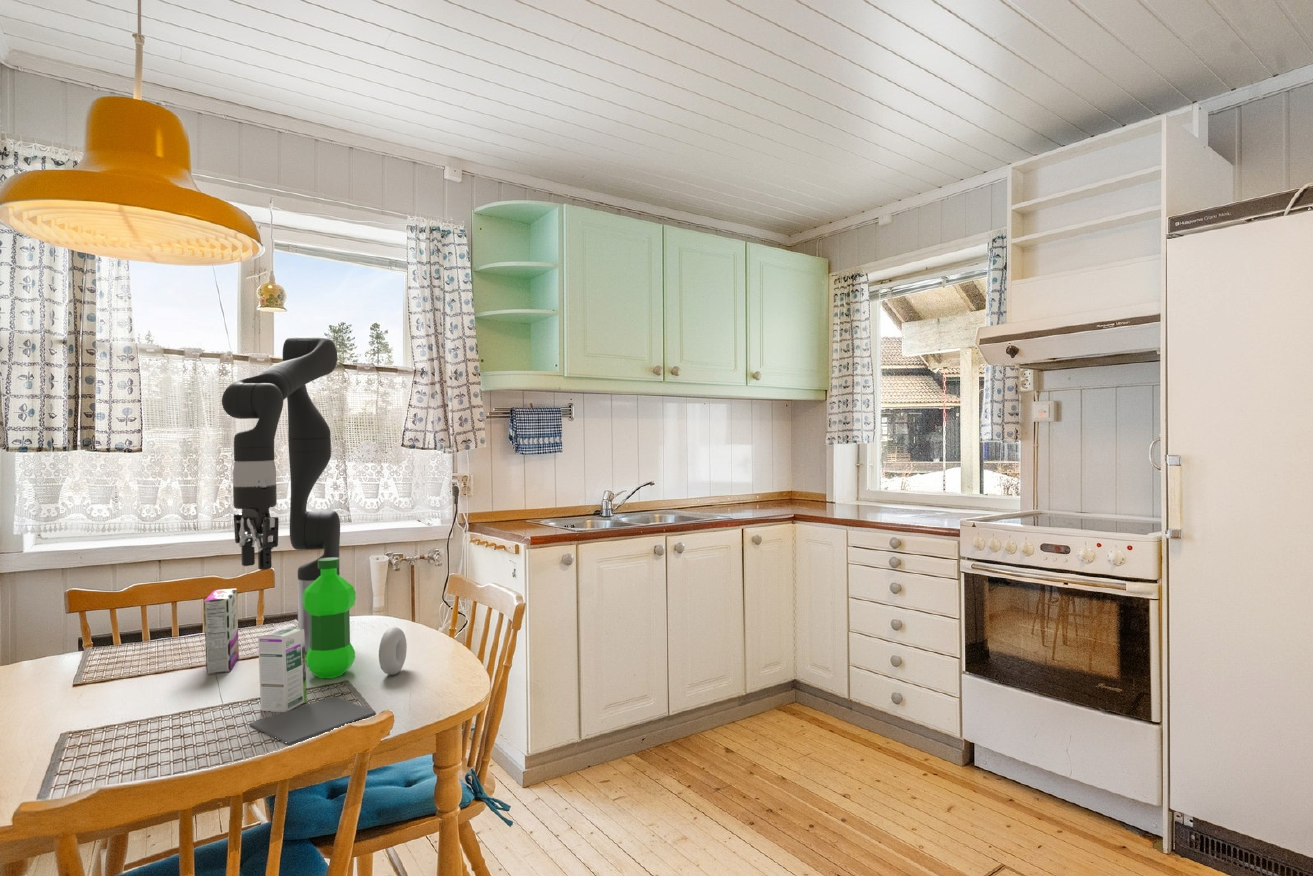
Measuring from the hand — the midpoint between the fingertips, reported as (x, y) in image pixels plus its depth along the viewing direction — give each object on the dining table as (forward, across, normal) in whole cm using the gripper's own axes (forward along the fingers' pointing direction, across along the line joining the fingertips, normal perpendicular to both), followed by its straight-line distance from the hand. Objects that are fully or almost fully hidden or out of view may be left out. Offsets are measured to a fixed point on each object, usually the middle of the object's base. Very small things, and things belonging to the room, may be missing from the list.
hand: (256, 567), depth 143 cm
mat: (+26, +21, 0) cm, 33 cm away
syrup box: (+26, +10, 0) cm, 28 cm away
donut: (+26, +11, +23) cm, 36 cm away
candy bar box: (+26, -26, +4) cm, 37 cm away
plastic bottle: (+26, 0, +15) cm, 30 cm away
